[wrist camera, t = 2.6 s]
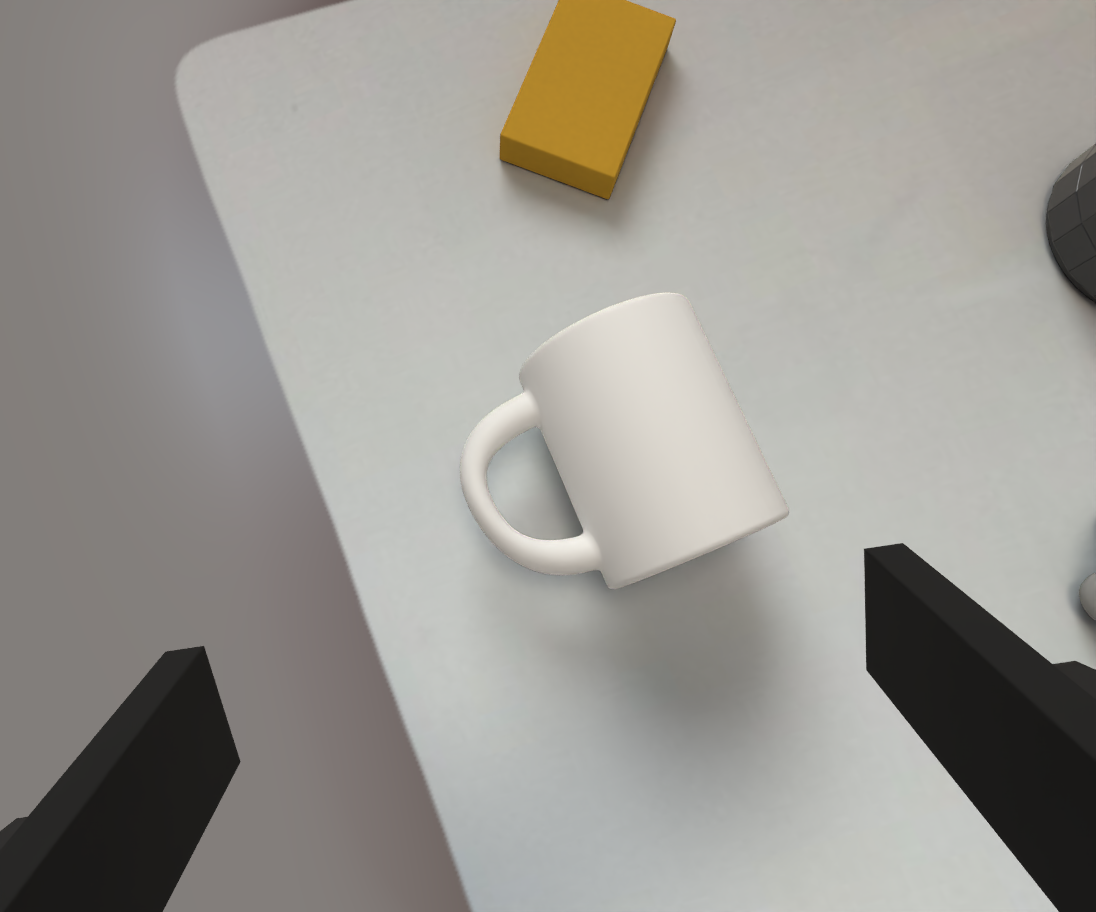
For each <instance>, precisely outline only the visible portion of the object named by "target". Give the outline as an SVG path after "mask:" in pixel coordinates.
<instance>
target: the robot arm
mask: <svg viewBox="0 0 1096 912" xmlns="http://www.w3.org/2000/svg"><path fill="white" fill-rule="evenodd" d="M864 565H865V618H866V670H867V671H868V673H869V674H870V675H871V676H872V678H873V679H874V680H875V681H876V683H877V684H878V685H879V686H880V688H881V689H882V690H883V691H884V693H885V694H886V695H887V696H888V698H889V699H890V700H891V701H892V703H893V704H894V705H895V706H896V708H897V709H898V710H899V711H900V713H901V714H902V715H903V716H904V718H905V719H906V720H907V721H908V723H909V724H910V725H911V726H912V728H913V729H914V730H915V732H916V733H917V734H918V735H919V737H920V738H921V739H922V740H923V742H924V743H925V744H926V745H927V747H928V748H929V749H930V750H931V752H932V753H933V754H934V755H935V757H936V758H937V759H938V760H939V762H940V763H941V764H942V765H943V767H944V768H945V769H946V770H947V772H948V773H949V774H950V775H951V777H952V778H953V779H954V780H955V782H956V783H957V784H958V785H959V787H960V788H961V789H962V790H963V792H964V793H965V794H966V795H967V797H968V798H969V799H970V801H971V802H972V803H973V804H974V806H975V807H976V808H977V809H978V811H979V812H980V813H981V814H982V816H983V817H984V818H985V819H986V821H987V822H988V823H989V824H990V826H991V827H992V828H993V829H994V831H995V832H996V833H997V834H998V836H999V837H1000V838H1001V839H1002V841H1003V842H1004V843H1005V844H1006V846H1007V847H1008V848H1009V849H1010V851H1011V852H1012V853H1013V854H1014V856H1015V857H1016V858H1017V859H1018V861H1019V862H1020V863H1021V864H1022V866H1023V867H1024V868H1025V870H1026V871H1027V872H1028V873H1029V875H1030V876H1031V877H1032V878H1033V880H1034V881H1035V882H1036V883H1037V885H1038V886H1039V887H1040V888H1041V890H1042V891H1043V892H1044V893H1045V895H1046V896H1047V897H1048V898H1049V900H1050V901H1051V902H1052V903H1053V905H1054V906H1055V907H1056V908H1057V910H1058V911H1059V912H1096V670H1095V669H1093V668H1090V667H1088V666H1086V665H1084V664H1081V663H1079V662H1077V661H1071V662H1065V663H1058V664H1052V663H1050V662H1049V661H1048V660H1047V659H1045V658H1044V657H1043V656H1042V655H1040V654H1039V653H1038V652H1037V651H1036V650H1034V649H1033V648H1032V647H1031V646H1029V645H1028V644H1027V643H1026V642H1024V641H1023V640H1022V639H1021V638H1019V637H1018V636H1017V635H1016V634H1014V633H1013V632H1012V631H1011V630H1010V629H1008V628H1007V627H1006V626H1005V625H1003V624H1002V623H1001V622H1000V621H998V620H997V619H996V618H995V617H993V616H992V615H991V614H990V613H989V612H987V611H986V610H985V609H984V608H982V607H981V606H980V605H979V604H977V603H976V602H975V601H974V600H972V599H971V598H970V597H969V596H967V595H966V594H965V593H964V592H963V591H961V590H960V589H959V588H958V587H956V586H955V585H954V584H953V583H951V582H950V581H949V580H948V579H946V578H945V577H944V576H943V575H941V574H940V573H939V572H938V571H937V570H935V569H934V568H933V567H932V566H930V565H929V564H928V563H927V562H925V561H924V560H923V559H922V558H920V557H919V556H918V555H917V554H916V553H914V552H913V551H912V550H911V549H909V548H908V547H907V546H906V545H904V544H903V543H901V544H894V545H887V546H880V547H874V548H867V549H864ZM239 764H240V759H239V756H238V753H237V750H236V747H235V743H234V740H233V737H232V734H231V731H230V727H229V724H228V721H227V718H226V715H225V712H224V708H223V705H222V702H221V699H220V696H219V693H218V689H217V686H216V683H215V679H214V676H213V673H212V670H211V667H210V664H209V660H208V657H207V655H206V651H205V648H204V646H201V647H194V648H188V649H180V650H174V651H167V652H165V653H164V654H163V655H162V657H161V658H160V659H159V660H158V662H157V663H156V664H155V665H154V666H153V667H152V669H151V670H150V671H149V672H148V673H147V675H146V676H145V677H144V678H143V679H142V681H141V682H140V683H139V684H138V685H137V687H136V688H135V689H134V690H133V691H132V693H131V694H130V695H129V696H128V697H127V698H126V700H125V701H124V702H123V703H122V704H121V706H120V707H119V708H118V709H117V710H116V712H115V713H114V714H113V715H112V716H111V718H110V719H109V720H108V721H107V723H106V724H105V725H104V726H103V727H102V729H101V730H100V731H99V732H98V733H97V734H96V736H95V737H94V738H93V739H92V741H91V742H90V743H89V744H88V745H87V746H86V748H85V749H84V750H83V751H82V753H81V754H80V755H79V756H78V757H77V759H76V760H75V761H74V762H73V763H72V765H71V766H70V767H69V768H68V769H67V771H66V772H65V773H64V774H63V775H62V776H61V778H60V779H59V780H58V781H57V783H56V784H55V785H54V786H53V787H52V789H51V790H50V791H49V792H48V793H47V795H46V796H45V797H44V798H43V799H42V800H41V802H40V803H39V804H38V805H37V806H36V808H35V809H34V810H33V811H32V812H31V814H30V815H29V816H28V817H24V818H17V819H15V820H14V821H13V822H12V823H10V824H9V825H8V826H6V827H5V828H4V829H3V830H1V831H0V912H163V910H164V908H165V906H166V904H167V902H168V900H169V898H170V896H171V894H172V893H173V891H174V888H175V887H176V885H177V883H178V881H179V879H180V877H181V875H182V873H183V871H184V869H185V867H186V866H187V864H188V862H189V860H190V858H191V856H192V854H193V852H194V850H195V848H196V846H197V844H198V843H199V841H200V838H201V837H202V835H203V833H204V831H205V829H206V827H207V825H208V823H209V821H210V819H211V817H212V816H213V814H214V812H215V810H216V808H217V806H218V804H219V802H220V800H221V798H222V796H223V794H224V792H225V791H226V789H227V787H228V785H229V783H230V781H231V779H232V777H233V775H234V773H235V771H236V769H237V767H238V765H239Z"/></svg>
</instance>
